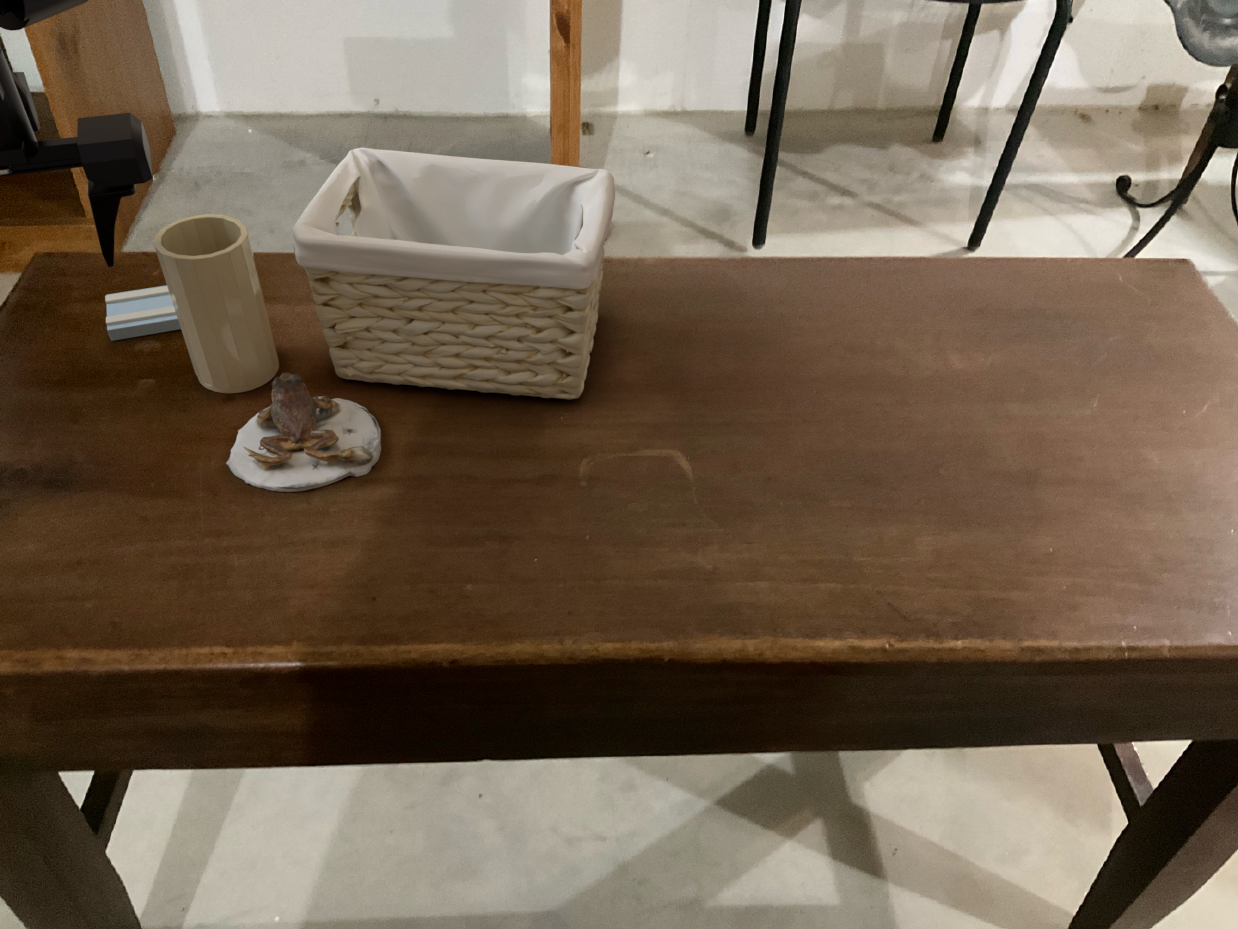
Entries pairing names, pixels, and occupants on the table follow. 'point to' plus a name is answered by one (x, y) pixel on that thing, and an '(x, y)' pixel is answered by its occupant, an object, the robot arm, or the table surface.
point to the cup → (218, 301)
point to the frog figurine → (304, 440)
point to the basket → (459, 270)
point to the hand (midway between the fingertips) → (42, 274)
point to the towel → (140, 313)
